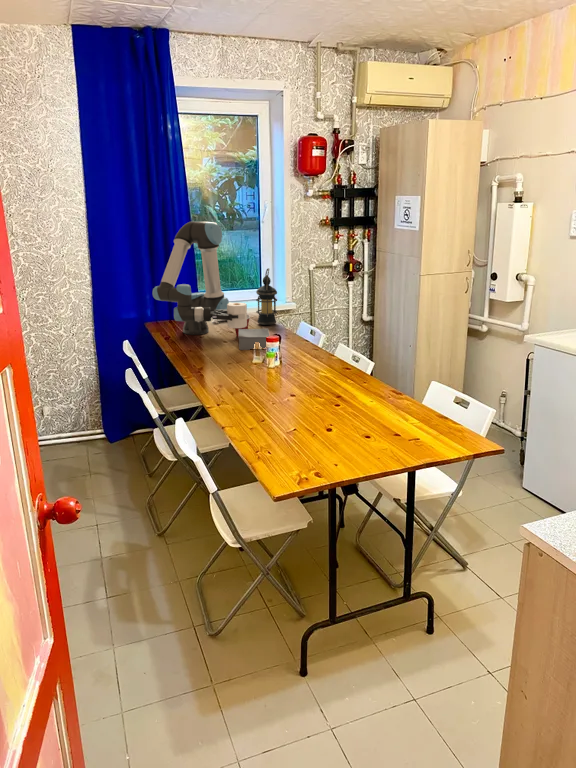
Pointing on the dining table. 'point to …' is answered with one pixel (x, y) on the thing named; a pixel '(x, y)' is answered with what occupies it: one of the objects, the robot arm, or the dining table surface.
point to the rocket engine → (217, 319)
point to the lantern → (266, 302)
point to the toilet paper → (237, 309)
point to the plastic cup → (242, 328)
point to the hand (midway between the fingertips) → (245, 314)
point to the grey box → (252, 338)
